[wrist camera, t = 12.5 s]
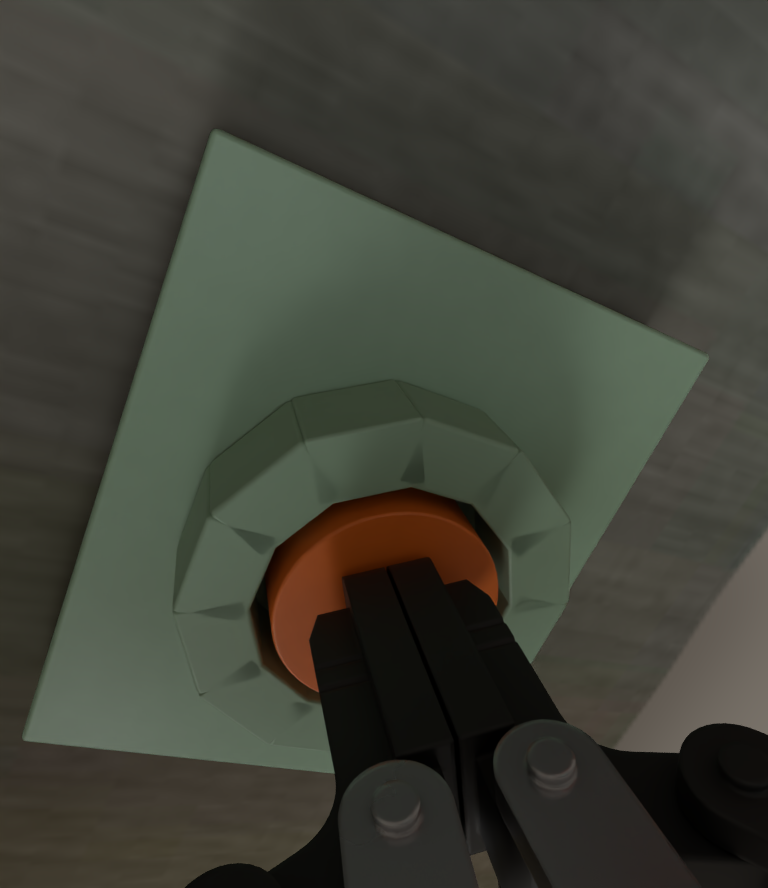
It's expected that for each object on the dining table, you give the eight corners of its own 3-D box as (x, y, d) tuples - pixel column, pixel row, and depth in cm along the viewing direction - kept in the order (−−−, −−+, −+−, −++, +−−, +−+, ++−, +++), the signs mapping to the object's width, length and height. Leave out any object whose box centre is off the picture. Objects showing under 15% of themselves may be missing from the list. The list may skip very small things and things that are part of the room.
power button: (415, 652, 14) (440, 716, 13) (234, 618, 13) (237, 684, 11) (499, 494, 13) (538, 543, 11) (309, 437, 12) (324, 484, 10)
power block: (426, 719, 19) (476, 856, 15) (43, 663, 15) (-7, 827, 11) (647, 326, 15) (782, 387, 11) (212, 126, 11) (213, 125, 8)
